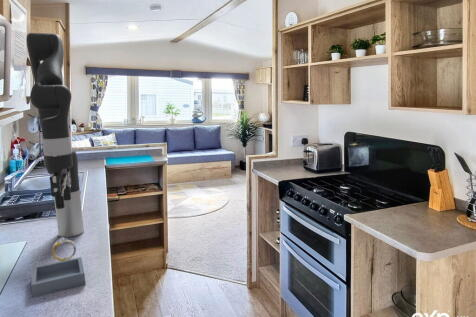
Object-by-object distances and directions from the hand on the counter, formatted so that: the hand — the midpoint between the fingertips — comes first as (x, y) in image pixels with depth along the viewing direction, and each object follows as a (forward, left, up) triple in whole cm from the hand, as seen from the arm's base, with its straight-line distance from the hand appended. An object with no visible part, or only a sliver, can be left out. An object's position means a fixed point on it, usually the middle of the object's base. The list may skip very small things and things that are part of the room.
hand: (64, 204), depth 110 cm
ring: (-4, -1, -20) cm, 21 cm away
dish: (+10, -3, -20) cm, 23 cm away
